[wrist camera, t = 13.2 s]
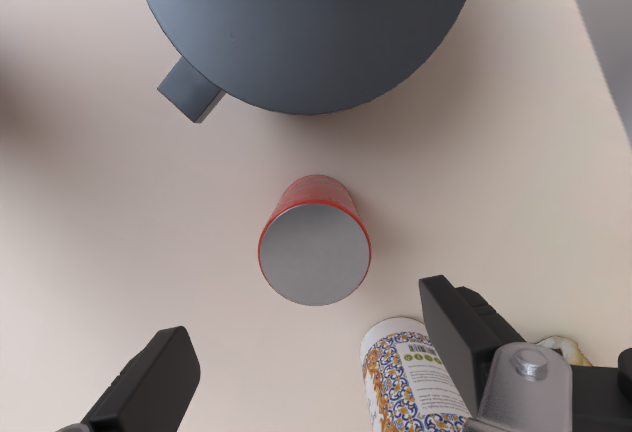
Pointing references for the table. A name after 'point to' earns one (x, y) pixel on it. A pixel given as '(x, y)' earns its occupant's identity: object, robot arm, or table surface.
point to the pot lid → (306, 47)
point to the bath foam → (408, 381)
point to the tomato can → (315, 243)
